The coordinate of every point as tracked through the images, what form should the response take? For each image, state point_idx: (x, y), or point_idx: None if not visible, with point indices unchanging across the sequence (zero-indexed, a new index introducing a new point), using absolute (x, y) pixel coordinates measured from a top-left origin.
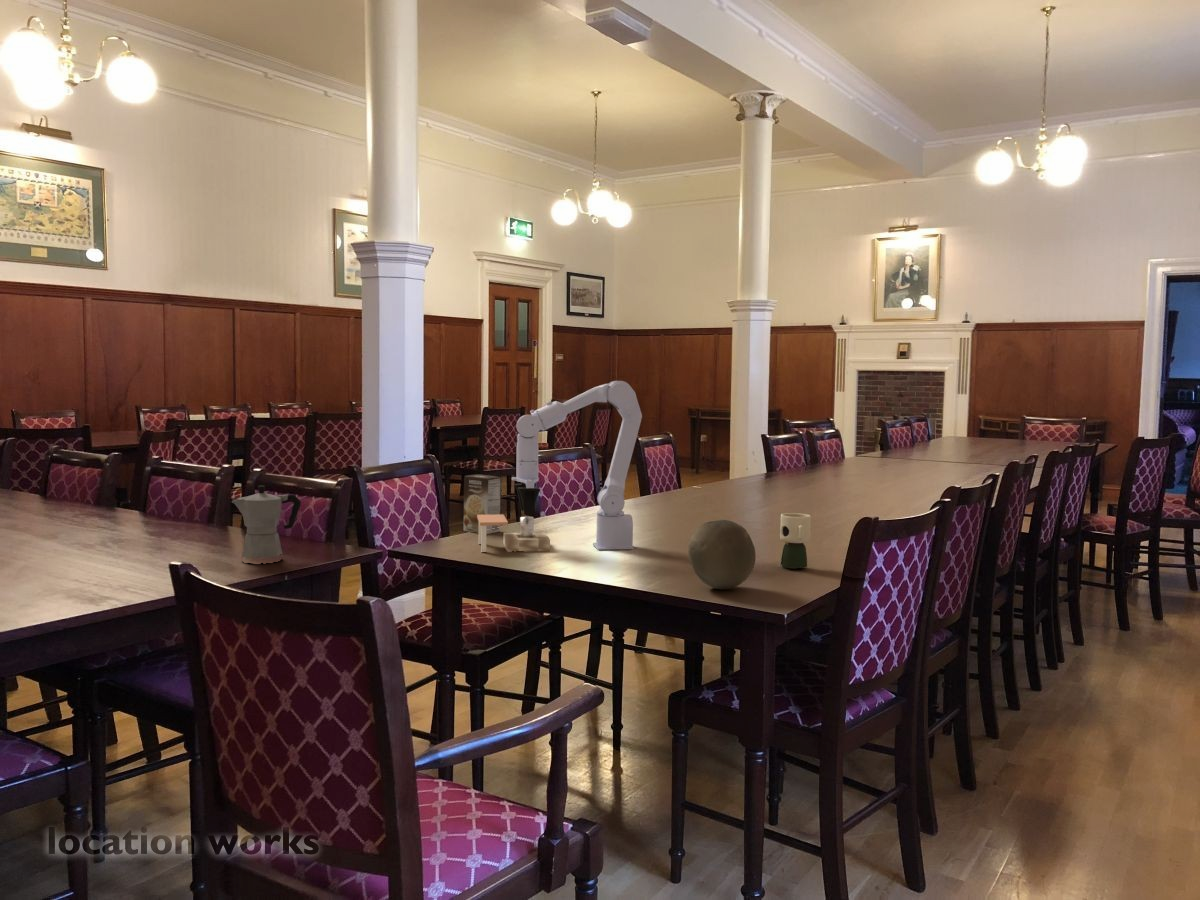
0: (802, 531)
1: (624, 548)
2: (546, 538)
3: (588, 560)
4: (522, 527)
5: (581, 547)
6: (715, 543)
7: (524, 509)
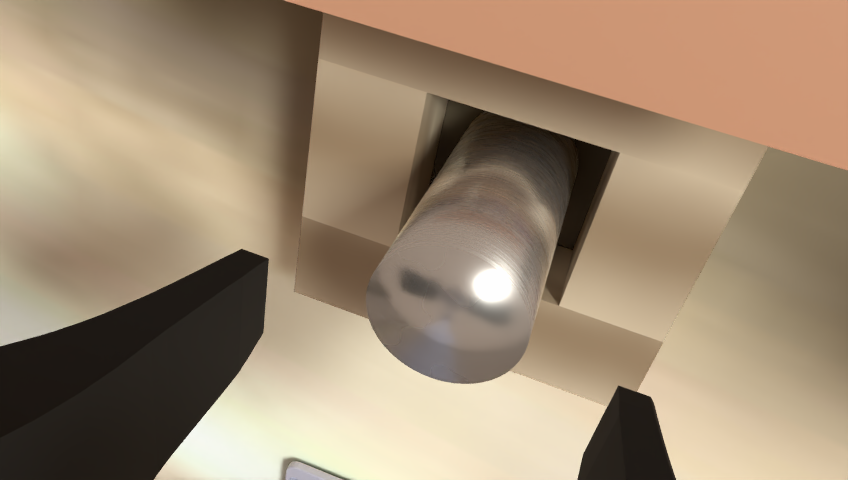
0: None
1: None
2: (341, 291)
3: (55, 289)
4: (432, 195)
5: (403, 445)
6: None
7: (186, 280)
